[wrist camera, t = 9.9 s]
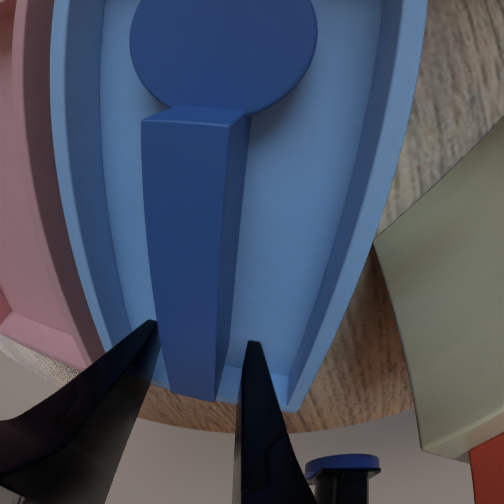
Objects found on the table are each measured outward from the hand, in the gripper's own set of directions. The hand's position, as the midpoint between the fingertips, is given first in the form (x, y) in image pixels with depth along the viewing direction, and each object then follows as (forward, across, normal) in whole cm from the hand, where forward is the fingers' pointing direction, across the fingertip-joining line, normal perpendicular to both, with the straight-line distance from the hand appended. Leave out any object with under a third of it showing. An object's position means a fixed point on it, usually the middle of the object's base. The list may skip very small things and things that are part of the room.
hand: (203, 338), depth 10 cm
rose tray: (+1, +8, -4) cm, 9 cm away
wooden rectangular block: (+1, -9, -8) cm, 13 cm away
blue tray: (+1, 0, -4) cm, 5 cm away
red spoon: (-5, -9, -8) cm, 13 cm away
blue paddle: (+1, 0, -5) cm, 5 cm away
